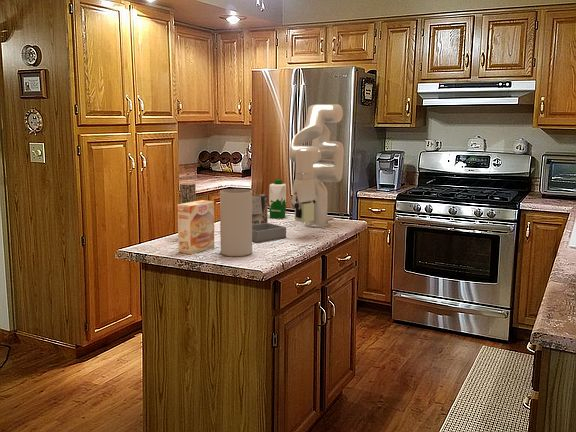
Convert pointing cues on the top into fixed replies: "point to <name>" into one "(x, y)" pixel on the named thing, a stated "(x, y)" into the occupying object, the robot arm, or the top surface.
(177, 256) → the top surface
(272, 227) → the tub
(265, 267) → the top surface
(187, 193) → the bark textured wooden post
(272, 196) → the milk carton
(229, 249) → the cylinder vase
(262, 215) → the coffee box
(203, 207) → the coffeecake box
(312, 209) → the pale yellow block
